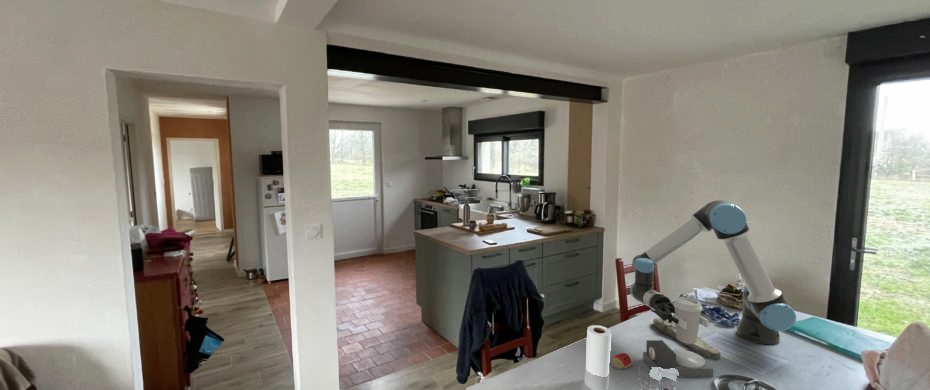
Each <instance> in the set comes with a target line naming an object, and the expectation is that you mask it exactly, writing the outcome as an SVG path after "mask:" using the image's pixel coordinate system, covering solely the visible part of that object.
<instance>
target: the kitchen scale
mask: <svg viewBox="0 0 930 390" xmlns="http://www.w3.org/2000/svg"><path fill="white" fill-rule="evenodd" d="M645 347H646V350H645V351H642V360H643V361H644V362H645V363H646V365H647V366H648V367H649V368H650V367H661V368H663V369H670V368H675V369H677V370H678V372H679V376H678V377H704V378H705V377H706V378H707V377H709V378H711V377H714V368H713V367H712V365H710V364H709V363H708V362H707V361H706V360H705V359H704V357H703V356H702V355H701V354H699V353H697V352H696V351H689V350H685V349H672V348H671V347H670V346H668V345H667V344H666V342H665V341H664V340H660V339H659V340H654V339H651V340H649V339H648V340H647V339H646V345H645Z"/></svg>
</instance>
